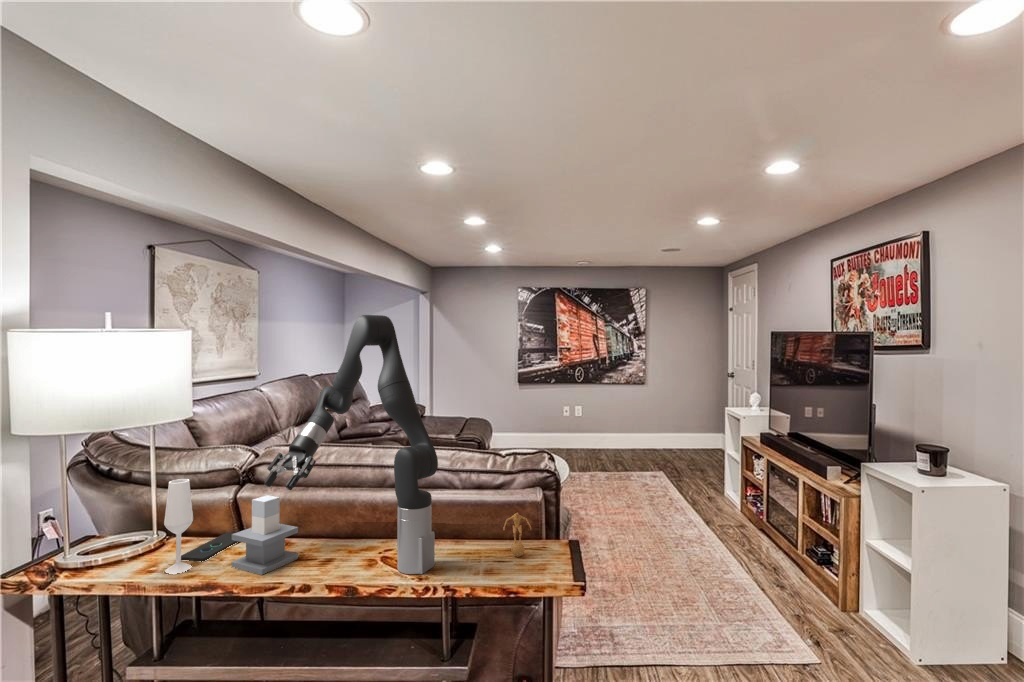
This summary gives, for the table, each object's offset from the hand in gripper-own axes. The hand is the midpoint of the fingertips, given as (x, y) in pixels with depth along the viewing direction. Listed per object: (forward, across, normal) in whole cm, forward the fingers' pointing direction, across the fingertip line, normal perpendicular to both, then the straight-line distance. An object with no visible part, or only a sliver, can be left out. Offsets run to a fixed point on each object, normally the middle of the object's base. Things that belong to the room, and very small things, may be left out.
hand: (277, 487), depth 149 cm
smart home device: (+16, -23, +13) cm, 31 cm away
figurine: (-7, +62, +37) cm, 72 cm away
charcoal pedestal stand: (+17, 0, +12) cm, 21 cm away
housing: (+11, 0, +5) cm, 12 cm away
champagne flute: (+26, -18, +3) cm, 32 cm away
